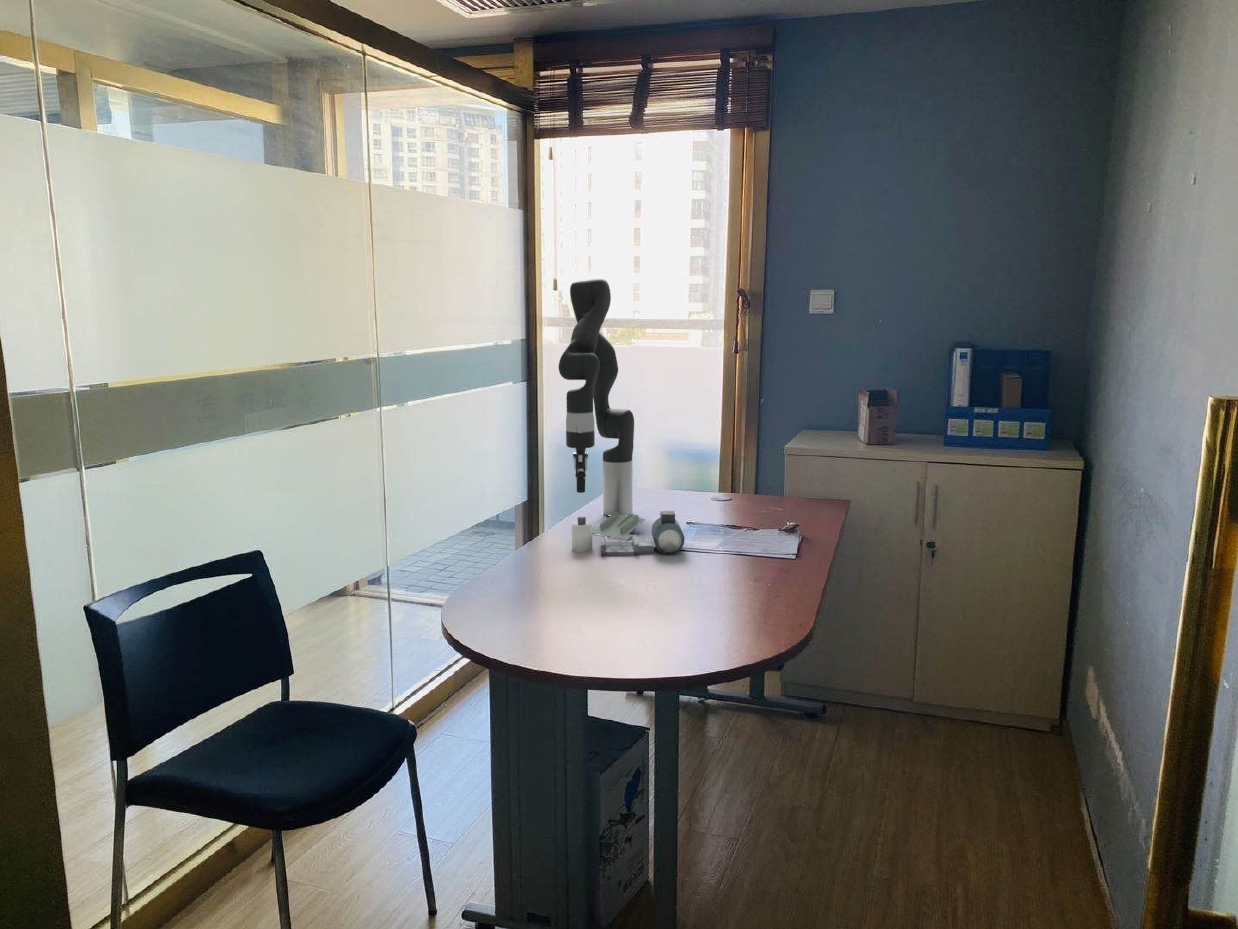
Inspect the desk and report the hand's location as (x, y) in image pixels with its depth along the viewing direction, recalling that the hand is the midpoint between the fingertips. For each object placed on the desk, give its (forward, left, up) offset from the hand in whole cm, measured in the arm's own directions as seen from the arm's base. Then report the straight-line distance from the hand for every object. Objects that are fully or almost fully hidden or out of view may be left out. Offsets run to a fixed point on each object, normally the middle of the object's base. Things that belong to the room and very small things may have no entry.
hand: (581, 489), depth 237 cm
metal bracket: (-18, +11, -17) cm, 27 cm away
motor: (+2, +16, -17) cm, 23 cm away
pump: (0, 0, -17) cm, 17 cm away
